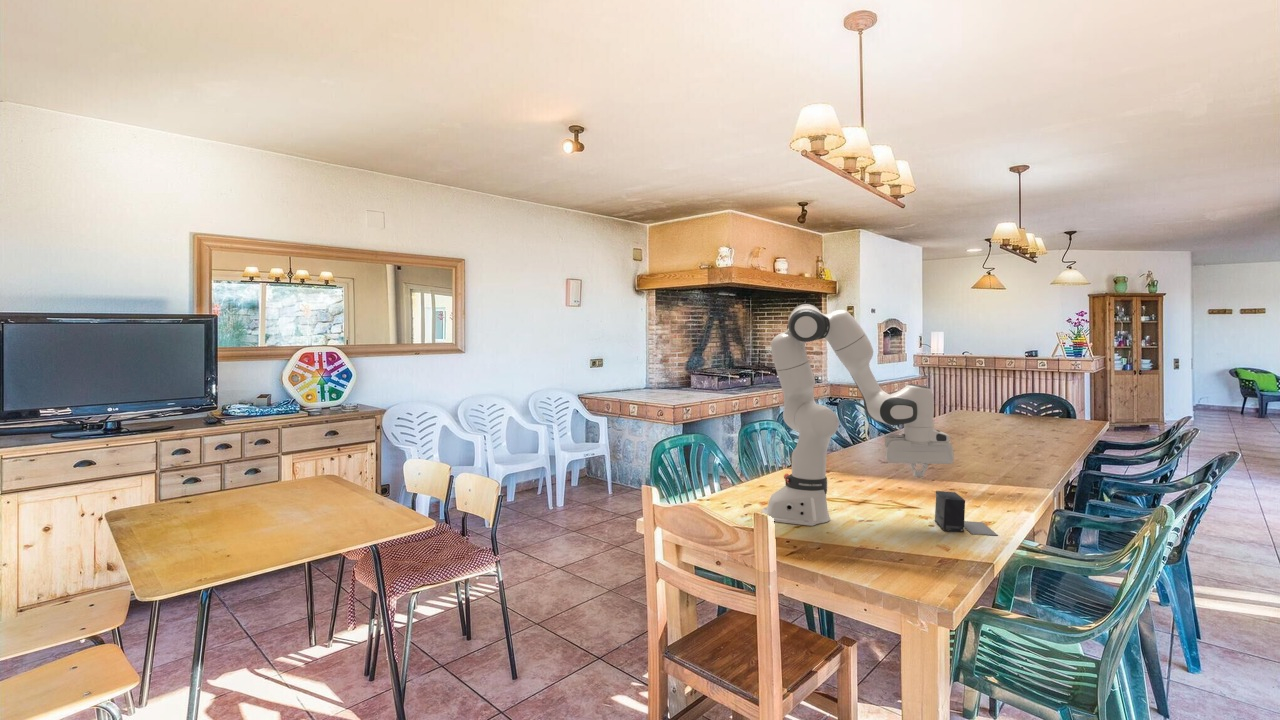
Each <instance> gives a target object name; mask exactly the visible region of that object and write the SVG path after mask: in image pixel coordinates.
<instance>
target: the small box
mask: <svg viewBox="0 0 1280 720" xmlns="http://www.w3.org/2000/svg"><path fill="white" fill-rule="evenodd" d="M934 510H935V511H934V512H935V513H934V523H935V524H936V525H937V526H938V527H939V528H940V529H941V530H942V531H943V532H954V533H965V528H964V521H965V513H966V512H965V511H966V499H965V498H963V497H962V496H960V495H959V494H958V493H957V492H955V491H954V492H953V491H945V490H944V491H943V490H935V509H934Z"/></svg>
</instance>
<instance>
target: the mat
mask: <svg viewBox="0 0 1280 720" xmlns="http://www.w3.org/2000/svg"><path fill="white" fill-rule="evenodd" d="M964 530H966V531H967V532H968V533H970V535H976V536H994V537H998V536H999V534H997V533H996V532H995V531H994V530H993V529H991V528H990V527H989V526H988V525H986V524H985V523H984V522H983V521H968V520H967V521H966V520H964Z"/></svg>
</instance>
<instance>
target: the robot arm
mask: <svg viewBox="0 0 1280 720" xmlns="http://www.w3.org/2000/svg"><path fill="white" fill-rule="evenodd" d="M787 322H788V323H787V328H786V330H785V331H783V332H781V333H779V334H776V335H775V336H774V337H773V338H772V340H771V344H770V347H771V348H770V349H771V355H772V360H773V365H774V367H775V371H776V374H777V376H778V377H777V378H778V381H779V383H780V387H781V390H782V396H783V404H784V405H783V407H784V409H783V413H782V418H783V421H784V423H785V424H786V426H788V428H790V430H792V431H794V432H797V433H798V434H799V435H798V439H797V443H796V446H795V448H794V449H793V450H792V453H791V474H789V473H784V474H783V479H784V480H785V485H784V486H783V487H780V489H778V490H777V491H775V492H773V494H771V495H770V497H769V500H768V503H767V506H766V507H764V508H762V509H761V514H762V513H765V514H767V515H769V516H771V517H772V518H774V520H775V522H774V523H776V522H777V523H785V524H792V525H801V526H809V527H810V526H811V527H813V526H816V525H819V524H824V523H827V522H829V521H831V517H830V513H829V509H828V503H827V494H828V493H827V492H828V477H827V474H826V473H827V471H826V470H827V456H828V455H827V453H828V448H829V445H830V442H831V440H832V437H833V436H834V435H835V434H836V433H837V431H838V428H839V425H840V422H839V418H838V415H837V414H836V413H835V411H833V410H832V409H830V408H829V407H828V406H826V405H824V404H818V403H817V402H816V400H815V396H814V395H815V393H814V387H815V385H816V379H815V376H814V372H813V370H812V366H811V363H810V359H809V357H808V353H807V350H806V343H809V342H814V341H818V340H823V339H825V340H826V342H828V344H829V345H830V347H831V348H832V350H833V352H834V353H835V355H836V357H837V358H838V359H839V361H840V362H841V363H842V365H843V366H844V367H845V368H846V370H847V372H849V374H850V376H851V378H852V380H853V381H854V383H855V386H856V387H857V389H858V390H859V392H860V394H861V397H862V399H863V400H862V401H863V407H864V411H865V414H866V415H867V417H868V418H870V419H871V420H872V421H875V422H880V423H882V424H886V425H889V426H902V425H903V434H902V433H900V434H899V433H898V434H897V433H896V434H894V433H891V434H888V435H887V436H885V438H884V446H885V454H884V459H885V460H886V461H887V463H890V464H909V466H910V468H911V470H912V473H913V477H914V478H925V472H926V471H927V469H928V467H929V464H930V465H932V464H933V465H934V464H935V465H952V464H953V462H954V460H955V457H954V447H953V445H952V444H951V442H950V441H951V435H949V434H948V433H946V432H943V431H941V430H938V429H935V424H934V419H933V418H934V413H935V407H934V406H935V403H934V394H933V391H932V389H931V388H929V387H928V386H925V385H921V384H920V385H919V384H914V383H909V384H906V385H905V386H904V387H903V388H902V389H900V390H898V391H895V392H893V393H888V392H886V391H884V390H883V389H882V388H881V385H879V383H878V381H877V379H876V377H875V376H874V373H873V372H872V370H871V368H870V362H871V360H872V359H873V356H874V349H873V346H872V344H871V341H870V339H869V338H868V336H867V334H866V332H865V331H864V329H863V327H862V326H861V325H860V323H859V322H858V321H857V320H856V319H855V318H854V316H853V315H852V314H851V313H850V312H849V311H847V310H845V309H837V310H836V309H835V310H833V311H830V312H829V313H823V312H821V310H820V309H819V308H818V306H816V305H815V304H812V303H806V302H805V303H801V304H798V305H796V306H795V307H794V308H793V309H792V311H791V312H790V314H789V316H788V321H787ZM917 464H921V466H922V468H921V470H916V468H915V467H916V466H917Z"/></svg>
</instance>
